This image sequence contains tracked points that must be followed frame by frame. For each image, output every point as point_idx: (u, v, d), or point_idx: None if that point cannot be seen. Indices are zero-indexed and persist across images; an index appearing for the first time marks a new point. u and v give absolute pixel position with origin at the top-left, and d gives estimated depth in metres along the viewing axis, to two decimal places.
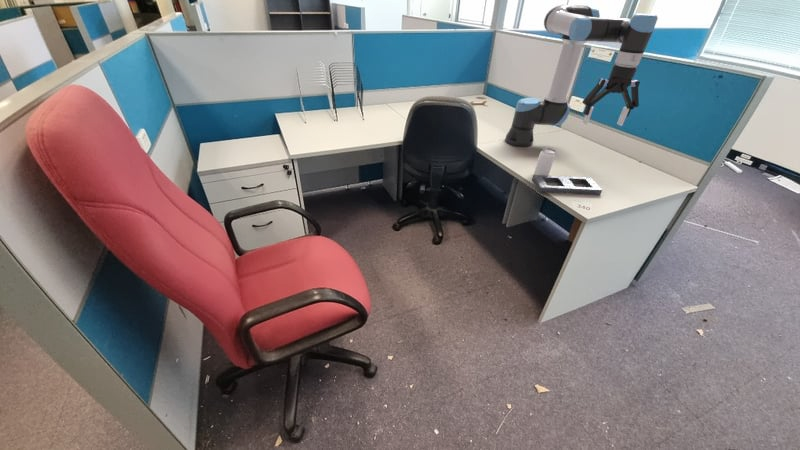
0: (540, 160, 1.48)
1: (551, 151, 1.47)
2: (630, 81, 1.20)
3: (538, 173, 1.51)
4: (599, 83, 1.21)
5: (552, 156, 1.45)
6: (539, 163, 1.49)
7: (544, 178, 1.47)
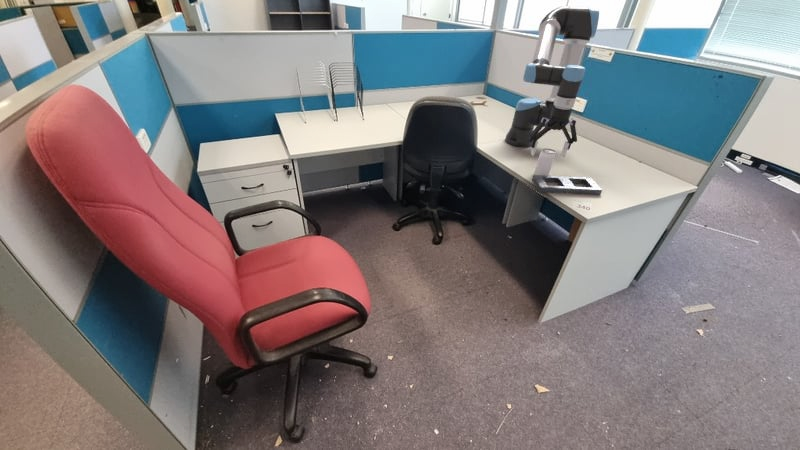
0: (540, 160, 1.48)
1: (551, 151, 1.47)
2: (567, 120, 1.38)
3: (538, 173, 1.51)
4: (541, 121, 1.39)
5: (552, 156, 1.45)
6: (539, 163, 1.49)
7: (544, 178, 1.47)
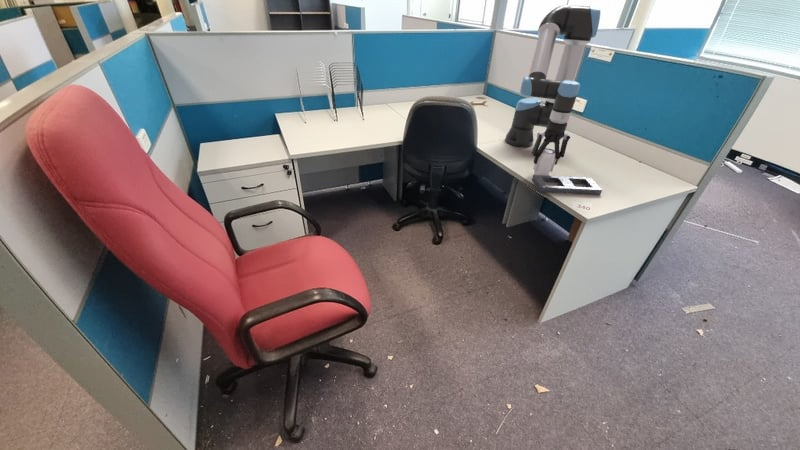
0: (540, 160, 1.48)
1: (551, 151, 1.47)
2: (563, 134, 1.41)
3: (538, 173, 1.51)
4: (538, 137, 1.43)
5: (552, 156, 1.45)
6: (539, 163, 1.49)
7: (544, 178, 1.47)
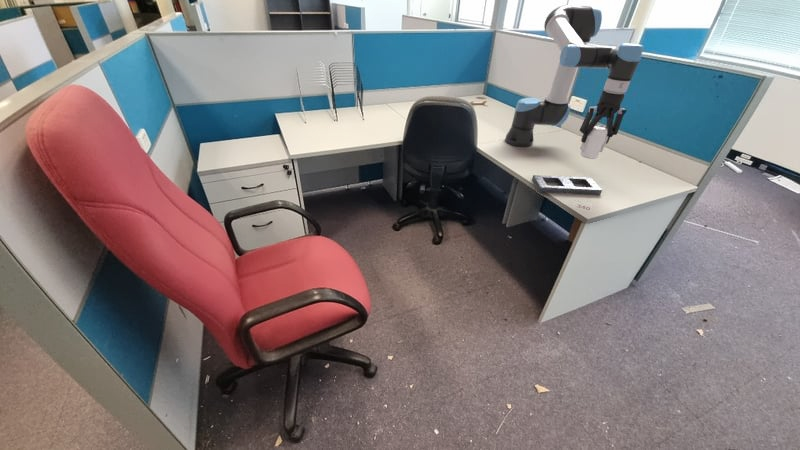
0: (589, 138, 1.31)
1: (602, 128, 1.30)
2: (619, 107, 1.24)
3: (586, 153, 1.34)
4: (589, 111, 1.26)
5: (604, 133, 1.28)
6: (588, 142, 1.32)
7: (544, 178, 1.47)
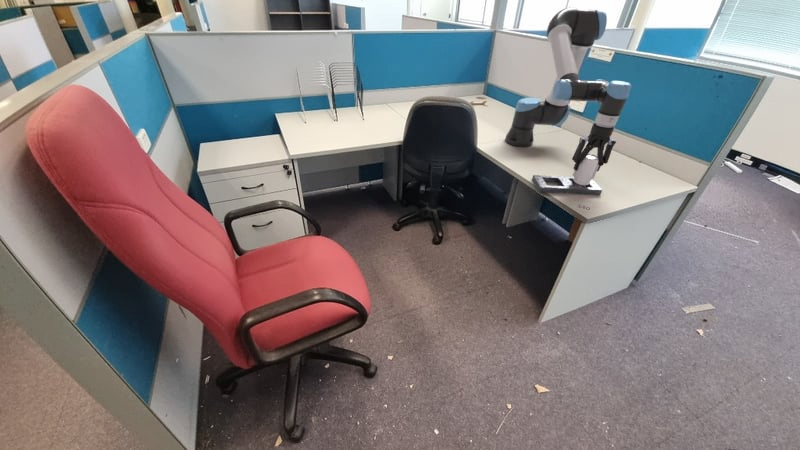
0: (581, 167, 1.38)
1: (594, 157, 1.37)
2: (609, 138, 1.31)
3: (578, 180, 1.40)
4: (580, 142, 1.33)
5: (595, 162, 1.35)
6: (580, 170, 1.39)
7: (544, 178, 1.47)
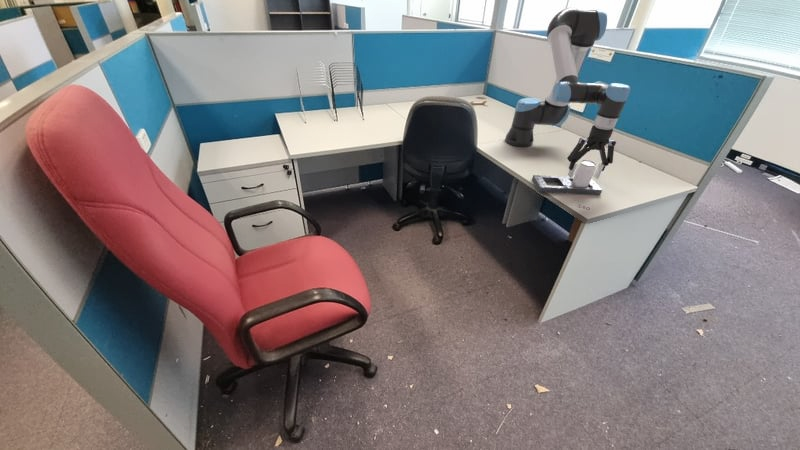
0: (579, 173, 1.39)
1: (591, 163, 1.38)
2: (608, 140, 1.31)
3: (576, 186, 1.42)
4: (579, 142, 1.33)
5: (592, 169, 1.36)
6: (577, 176, 1.40)
7: (544, 178, 1.47)
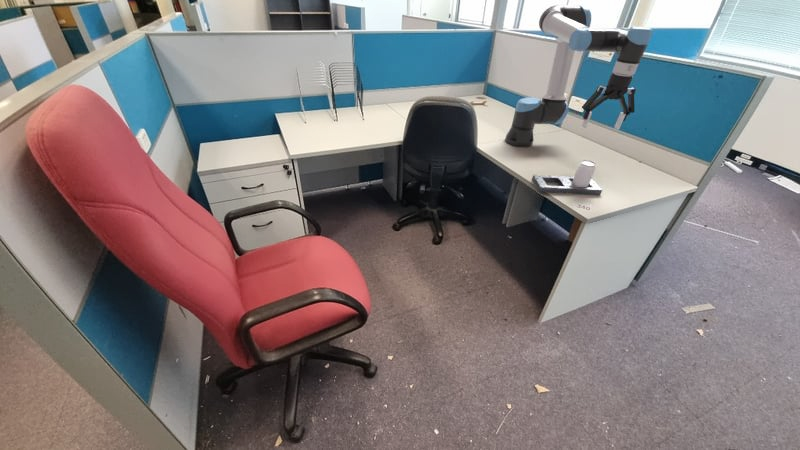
0: (579, 173, 1.39)
1: (591, 163, 1.38)
2: (626, 89, 1.29)
3: (576, 186, 1.42)
4: (597, 90, 1.30)
5: (592, 169, 1.36)
6: (578, 176, 1.40)
7: (544, 178, 1.47)
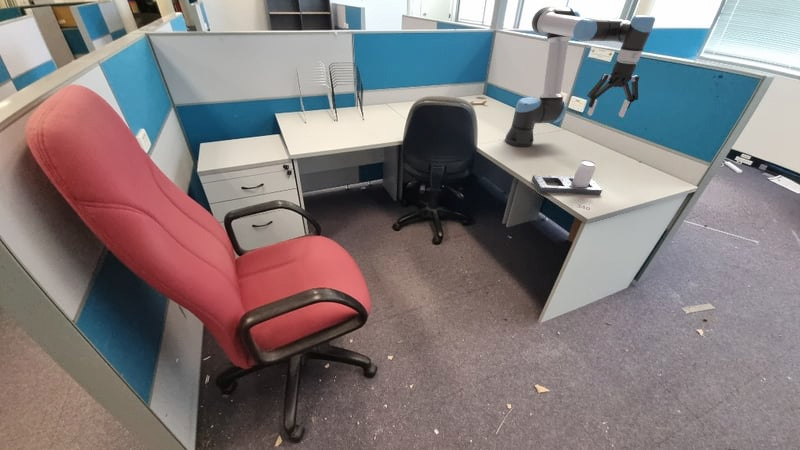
0: (579, 173, 1.39)
1: (591, 163, 1.38)
2: (630, 76, 1.33)
3: (576, 186, 1.42)
4: (602, 78, 1.34)
5: (592, 169, 1.36)
6: (577, 176, 1.40)
7: (544, 178, 1.47)
